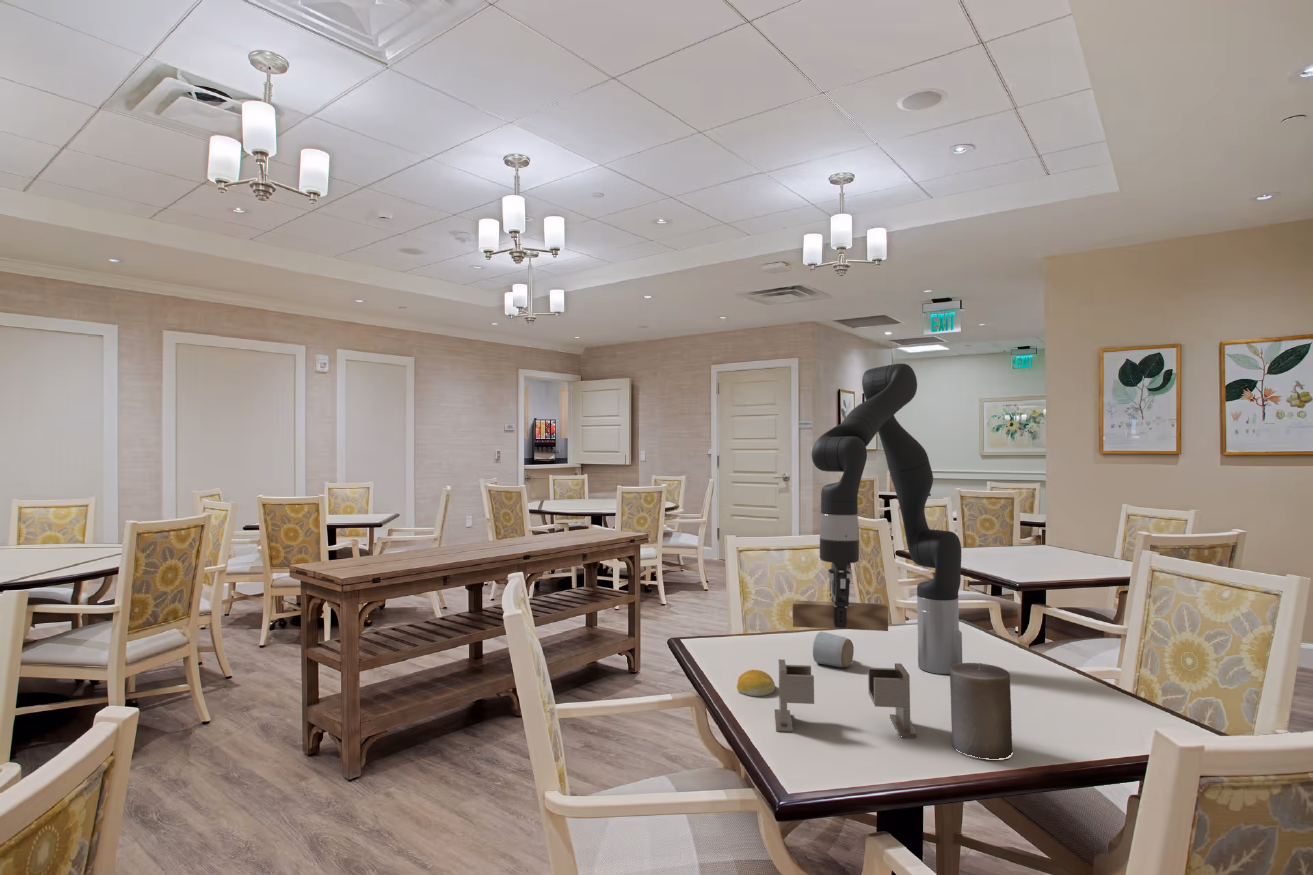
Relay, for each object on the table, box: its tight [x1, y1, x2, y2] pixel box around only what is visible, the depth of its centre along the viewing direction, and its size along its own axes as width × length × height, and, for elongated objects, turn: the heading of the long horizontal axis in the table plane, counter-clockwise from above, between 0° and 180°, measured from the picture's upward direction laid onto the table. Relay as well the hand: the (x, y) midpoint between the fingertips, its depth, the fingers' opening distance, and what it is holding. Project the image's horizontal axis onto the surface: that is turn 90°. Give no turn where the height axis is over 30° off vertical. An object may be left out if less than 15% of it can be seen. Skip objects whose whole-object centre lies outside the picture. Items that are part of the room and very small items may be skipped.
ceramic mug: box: [812, 631, 855, 669], centre depth 168 cm, size 11×8×8 cm
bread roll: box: [736, 669, 776, 697], centre depth 150 cm, size 8×9×4 cm
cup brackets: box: [774, 658, 918, 739], centre depth 130 cm, size 25×9×11 cm, turn 82°
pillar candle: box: [949, 662, 1014, 759], centre depth 119 cm, size 10×10×15 cm
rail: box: [791, 599, 889, 632], centre depth 134 cm, size 18×4×4 cm, turn 81°
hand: (839, 624), depth 134 cm, fingers closed on rail, 3 cm apart
